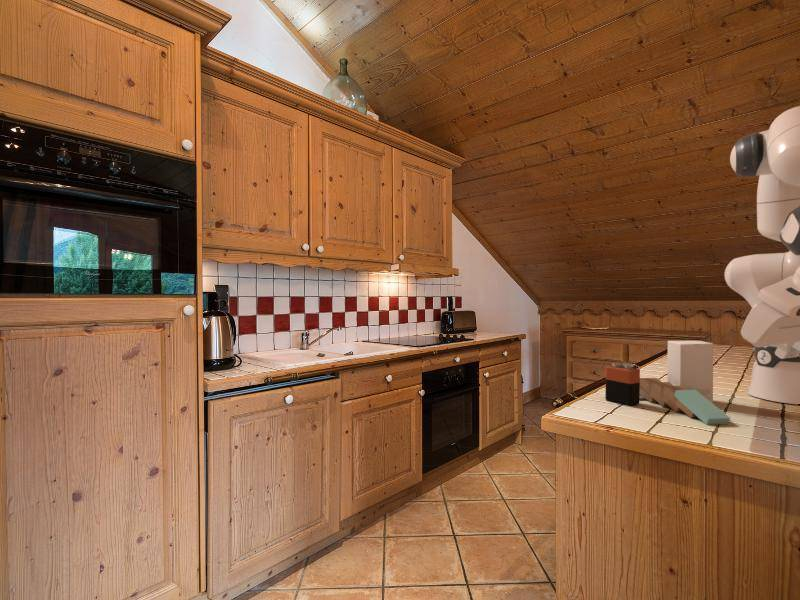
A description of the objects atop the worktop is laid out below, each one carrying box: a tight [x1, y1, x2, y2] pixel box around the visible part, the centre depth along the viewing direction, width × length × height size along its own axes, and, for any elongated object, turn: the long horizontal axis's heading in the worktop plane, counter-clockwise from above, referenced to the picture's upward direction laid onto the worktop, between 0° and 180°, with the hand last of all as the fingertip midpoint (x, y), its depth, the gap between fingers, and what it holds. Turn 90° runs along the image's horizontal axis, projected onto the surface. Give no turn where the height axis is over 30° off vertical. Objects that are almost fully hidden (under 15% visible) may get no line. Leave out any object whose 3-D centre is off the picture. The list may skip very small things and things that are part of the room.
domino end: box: [674, 390, 731, 426], centre depth 91 cm, size 5×2×10 cm
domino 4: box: [661, 386, 699, 419], centre depth 95 cm, size 5×2×10 cm
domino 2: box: [640, 377, 671, 408], centre depth 104 cm, size 5×2×10 cm
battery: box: [604, 362, 641, 407], centre depth 104 cm, size 4×7×10 cm, turn 32°
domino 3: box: [649, 381, 685, 414], centre depth 99 cm, size 5×2×10 cm
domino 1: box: [640, 386, 657, 403], centre depth 108 cm, size 5×2×10 cm
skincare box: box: [666, 340, 715, 404], centre depth 105 cm, size 8×7×16 cm
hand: (785, 355), depth 76 cm, fingers closed
